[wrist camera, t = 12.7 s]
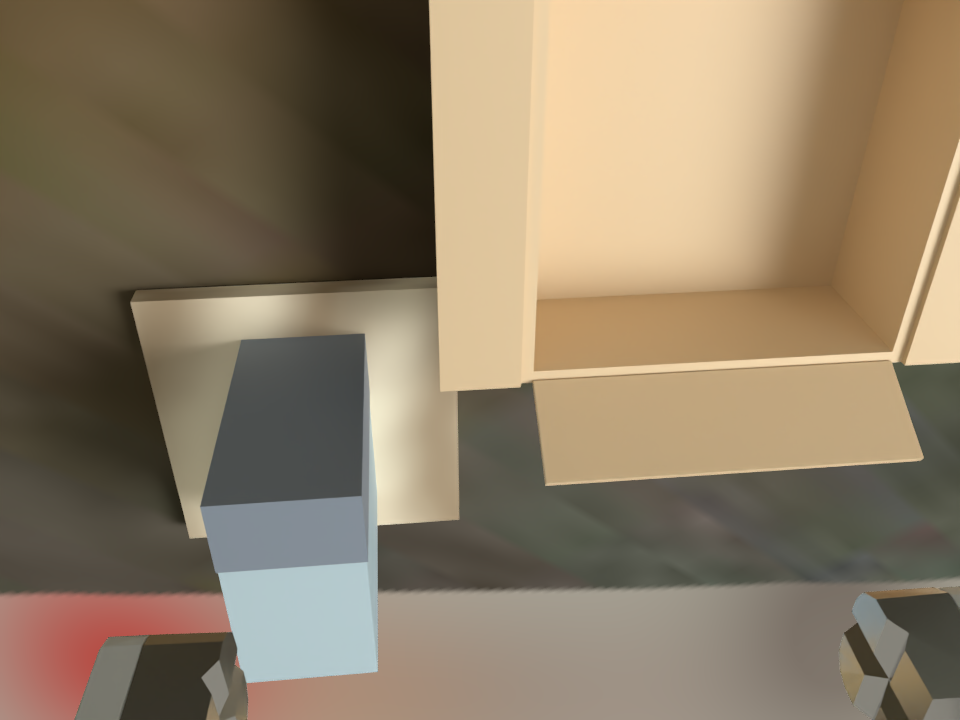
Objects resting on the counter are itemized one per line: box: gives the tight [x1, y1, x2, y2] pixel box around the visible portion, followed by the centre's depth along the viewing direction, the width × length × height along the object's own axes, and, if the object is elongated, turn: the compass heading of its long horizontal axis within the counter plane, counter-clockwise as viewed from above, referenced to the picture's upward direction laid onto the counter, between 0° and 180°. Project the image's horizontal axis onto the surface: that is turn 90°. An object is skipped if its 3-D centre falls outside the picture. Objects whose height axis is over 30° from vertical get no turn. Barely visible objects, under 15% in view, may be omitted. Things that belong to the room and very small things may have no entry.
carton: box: [429, 0, 960, 486], centre depth 30 cm, size 21×19×10 cm
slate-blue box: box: [200, 334, 378, 683], centre depth 34 cm, size 5×9×10 cm, turn 0°
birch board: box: [130, 277, 459, 538], centre depth 39 cm, size 13×13×1 cm
